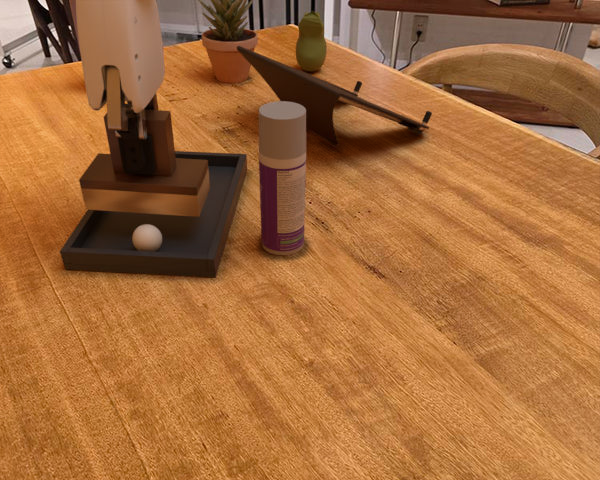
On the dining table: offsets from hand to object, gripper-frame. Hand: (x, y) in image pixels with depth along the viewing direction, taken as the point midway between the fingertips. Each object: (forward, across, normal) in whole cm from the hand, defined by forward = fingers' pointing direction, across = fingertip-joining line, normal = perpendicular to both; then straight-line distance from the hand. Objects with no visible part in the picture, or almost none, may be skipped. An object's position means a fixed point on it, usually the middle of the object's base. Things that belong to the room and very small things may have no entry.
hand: (144, 164), depth 61 cm
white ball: (+6, +5, +1) cm, 8 cm away
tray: (+8, -4, +1) cm, 9 cm away
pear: (+9, -56, +15) cm, 58 cm away
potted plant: (+9, -51, +1) cm, 51 cm away
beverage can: (+9, -43, -19) cm, 48 cm away
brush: (+4, 0, 0) cm, 4 cm away
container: (+8, +1, +15) cm, 17 cm away
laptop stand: (+8, -31, +21) cm, 38 cm away
